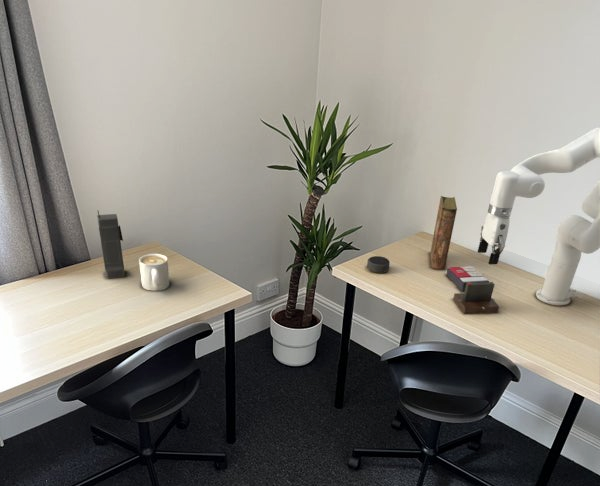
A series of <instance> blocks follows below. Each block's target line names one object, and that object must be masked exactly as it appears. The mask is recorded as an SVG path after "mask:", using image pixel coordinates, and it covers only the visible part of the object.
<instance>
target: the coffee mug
mask: <svg viewBox="0 0 600 486" xmlns="http://www.w3.org/2000/svg"><path fill="white" fill-rule="evenodd" d="M138 264H139V271H140V279H141V286H142V288H143V289H144V290H148V291H151V292H153V291H154V292H156V291H164V290H165V289H167V288H169V287H170V274H169V263H168V257H167V256H166V255H164V254H161V253H147V254H145V255H142V256H140V257H139V258H138Z"/></svg>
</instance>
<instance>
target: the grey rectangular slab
mask: <svg viewBox="0 0 600 486" xmlns="http://www.w3.org/2000/svg"><path fill="white" fill-rule="evenodd" d="M495 285H496V284H495V283H494V282H493V281H489V282H473V283H470V282H467V283H466V287H465V291H463V293H464V296H463V300H464V301H490V300H491V298H492V296H493V294H494V293H493V292H494V288H495Z"/></svg>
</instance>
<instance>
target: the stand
mask: <svg viewBox="0 0 600 486" xmlns="http://www.w3.org/2000/svg"><path fill="white" fill-rule="evenodd" d="M463 296H464V292H461V293H457V292H456V293H454V294H453V299H452V300H453V302H454V303H455V304H456V305H457V306H458V308H459V309H460V310H461V312H462V313H463V314H465V315H466V314H467V315H468V314H492V313H494V314H495V313H496V314H497V313H499V310H500V305H499V304H498V303H497V302H496V301H495V298H493V297H491V300H490V301H464V300H463Z"/></svg>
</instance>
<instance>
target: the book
mask: <svg viewBox="0 0 600 486" xmlns="http://www.w3.org/2000/svg"><path fill="white" fill-rule="evenodd" d="M457 206H458V205H457V202H456V197H455V196H453V197H449V196H448V197H447V196H443V195H441V196H440V199H439V204H438V210H437V215H436V220H435V226H434V231H433V235H432V236H433V237H432V241H431V247H430V253H429V256H430V268H431V269H433V270H435V271H444V270H445V269H446V265H447V260H448V256H449V255H448V254H449V250H450V245H451V241H452V236H453V232H454V225H455V221H456V218H457V217H456V216H457V212H458V207H457Z"/></svg>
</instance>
